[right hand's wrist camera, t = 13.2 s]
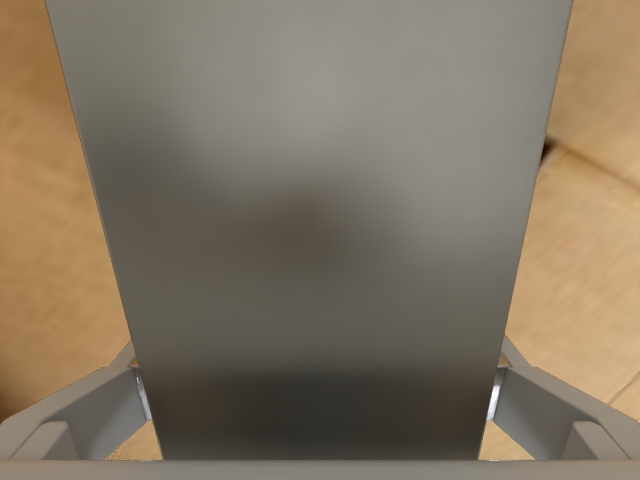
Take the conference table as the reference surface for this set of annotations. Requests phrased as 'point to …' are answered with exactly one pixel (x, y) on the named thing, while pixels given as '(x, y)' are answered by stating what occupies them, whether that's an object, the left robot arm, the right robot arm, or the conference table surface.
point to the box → (314, 210)
